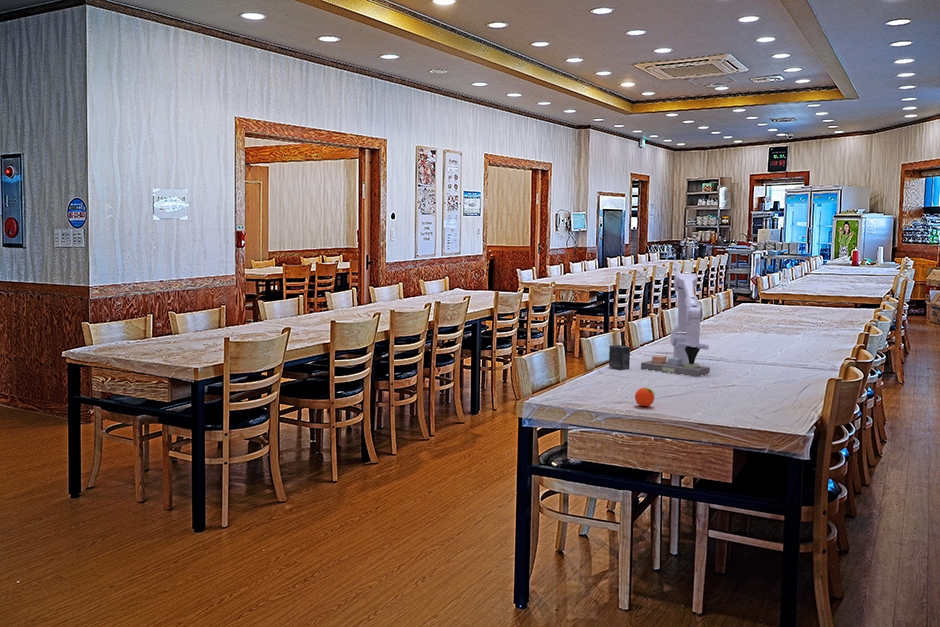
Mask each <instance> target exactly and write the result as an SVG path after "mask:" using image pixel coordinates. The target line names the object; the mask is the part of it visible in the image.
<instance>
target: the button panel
mask: <svg viewBox="0 0 940 627" xmlns="http://www.w3.org/2000/svg"><path fill="white" fill-rule="evenodd" d="M644 369H648V370H647V371H651V370H655V371H654V372H658V371H662V372H661V373H665V372H670V373H669V374H672V373H676V374H675V375H679V374H684V375H683V376H686V375H690V376H689V377H693V376H700V377H702V376H701V375H703V376H706V375H705V374H707V375H709V374H710V370H711V368H710V366H702V365H699V368H696V369H693V368H686V367H684V364H682V366H671V365H668V361H666V363H665V364H656V363H652V359H651V360H647V361H643V362H641V363H640V370H644ZM708 373H709V374H708Z"/></svg>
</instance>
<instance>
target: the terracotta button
mask: <svg viewBox="0 0 940 627" xmlns="http://www.w3.org/2000/svg"><path fill="white" fill-rule="evenodd" d="M651 360H652V363H656V364H665V363H666V362H667V361H668V357H667V356H666V355H660V354H659V355H658V354H656V355H653V356H651Z"/></svg>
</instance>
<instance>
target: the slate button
mask: <svg viewBox="0 0 940 627" xmlns="http://www.w3.org/2000/svg"><path fill="white" fill-rule="evenodd" d="M667 362H668V365H671V366H682V362H683V358H675V357H673V356H672V357H669V358H668V357H667Z"/></svg>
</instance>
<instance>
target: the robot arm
mask: <svg viewBox="0 0 940 627" xmlns="http://www.w3.org/2000/svg"><path fill="white" fill-rule="evenodd" d="M673 276H674V277H673V278H674V279H673V290H674V291H675V292H677V296H678V297H677V299H678V300H677V325H676V326H675V327H673V329H672V330H671V333H670V334H671V335H670V345H671V346H673V356H672V357H675V358H683V362H682V364H685V363H689V364H694V363H695V360H696V358H697V355H698V354H699V352H700V350H709V348H710V347H709V346H710V345H709V344H705V343H700V334H701V331H700V330H701V320H702V319H703V308H702V306H701V305H699V304H700V303H699V299H698V298H699V297H698V296H696V294H695V289H696V286H697V284H698V274H696V273H683V272H682V273H681V272H680V273H678V272H675V274H674V275H673Z"/></svg>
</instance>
